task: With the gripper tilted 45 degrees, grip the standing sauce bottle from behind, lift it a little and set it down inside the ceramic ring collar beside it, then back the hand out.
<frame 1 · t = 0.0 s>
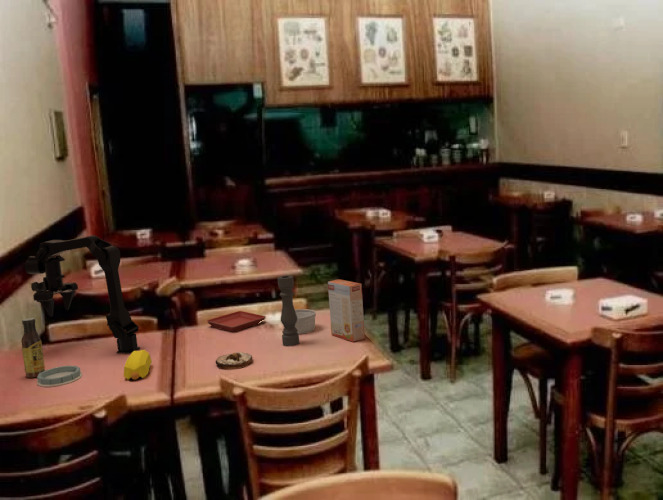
hand: (59, 313, 247), 15 cm above the table, tool pointing down, fingers open, 9 cm apart
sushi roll: (234, 365, 218), on the table
candle holder: (291, 344, 236), on the table
cracker box: (348, 337, 239), on the table
plant saucer: (237, 326, 267), on the table
ramekin: (300, 331, 252), on the table
sauce bottle: (36, 375, 221), on the table
yellow faceted rock: (138, 373, 216), on the table
ring collar: (59, 379, 215), on the table
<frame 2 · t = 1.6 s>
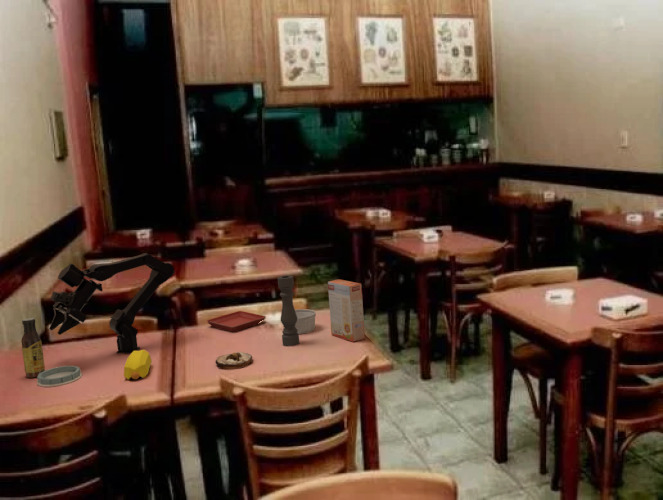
hand: (54, 331, 224), 13 cm above the table, tool tilted 45°, fingers open, 9 cm apart
nothing on the table moved.
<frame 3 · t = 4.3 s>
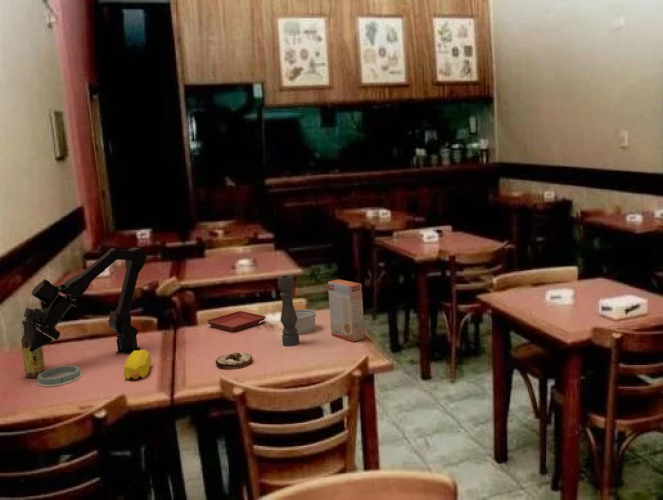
hand: (27, 349, 219), 10 cm above the table, tool tilted 45°, fingers closed on sauce bottle, 6 cm apart
sauce bottle: (36, 375, 221), on the table, touching gripper
everything else where it was.
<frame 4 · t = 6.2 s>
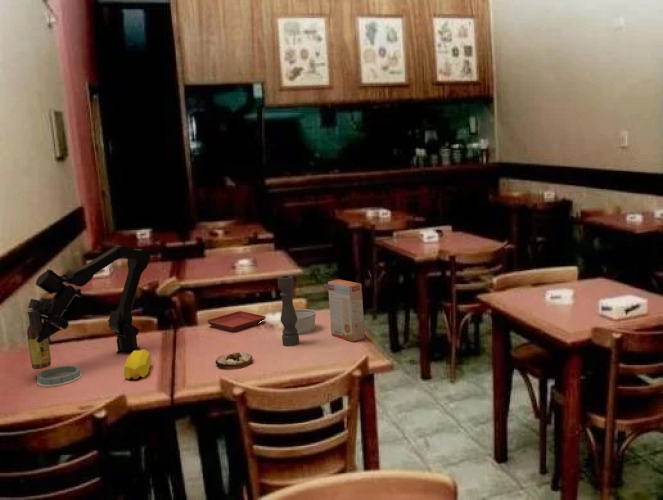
hand: (33, 340, 216), 13 cm above the table, tool tilted 45°, fingers closed on sauce bottle, 6 cm apart
sauce bottle: (42, 367, 218), point 3 cm above the table, touching gripper
everything else where it was.
when the fingers open (11 cm above the table, at t = 8.2 s): sauce bottle stays where it is, resting on ring collar.
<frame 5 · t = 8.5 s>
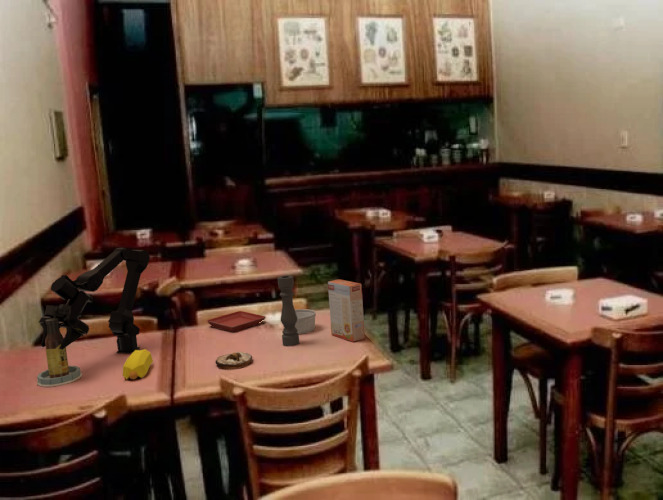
hand: (51, 347, 212), 11 cm above the table, tool tilted 45°, fingers open, 9 cm apart
sauce bottle: (59, 377, 215), resting on ring collar
everything else where it was.
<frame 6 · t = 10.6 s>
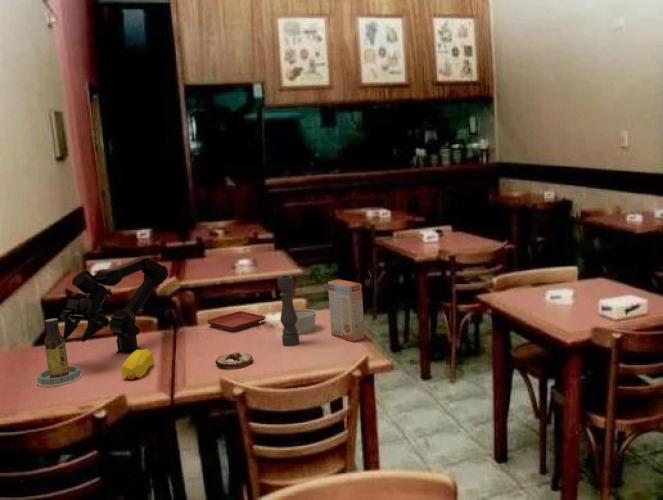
hand: (73, 340, 220), 11 cm above the table, tool tilted 45°, fingers open, 9 cm apart
nothing on the table moved.
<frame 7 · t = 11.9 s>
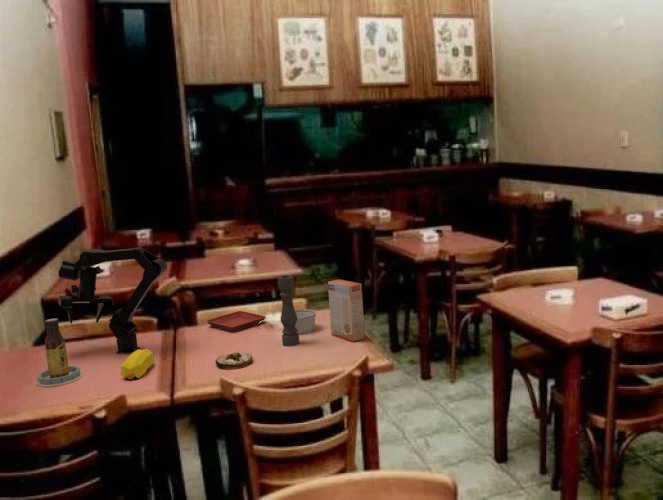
hand: (84, 322, 241), 12 cm above the table, tool pointing down, fingers open, 9 cm apart
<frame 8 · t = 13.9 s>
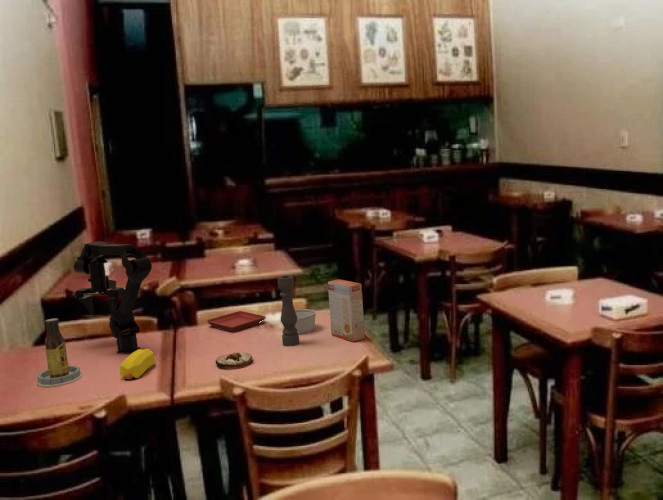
hand: (102, 314, 247), 13 cm above the table, tool pointing down, fingers open, 9 cm apart
at the end: sauce bottle 0.2 cm off-centre on the ring collar, point 0.4 cm above the ring collar's base; sauce bottle tilted 0°; the gripper is holding nothing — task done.
